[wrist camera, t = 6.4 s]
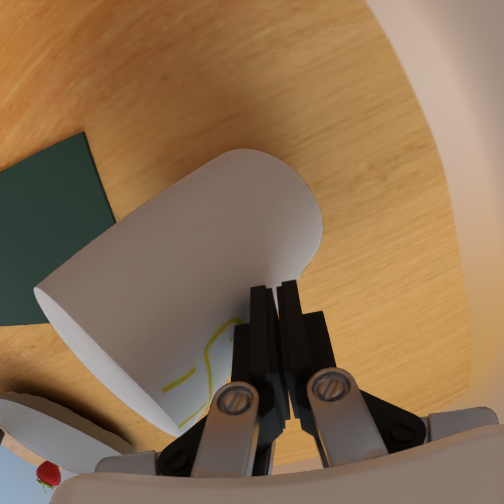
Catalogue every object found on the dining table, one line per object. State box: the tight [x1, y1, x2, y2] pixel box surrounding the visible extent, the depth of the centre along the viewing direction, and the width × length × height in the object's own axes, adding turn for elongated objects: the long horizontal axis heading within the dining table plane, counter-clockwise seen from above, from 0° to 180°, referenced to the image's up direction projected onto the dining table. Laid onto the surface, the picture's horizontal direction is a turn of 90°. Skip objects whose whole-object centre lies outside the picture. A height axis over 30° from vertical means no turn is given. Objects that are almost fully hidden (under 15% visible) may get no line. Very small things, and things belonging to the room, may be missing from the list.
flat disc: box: [0, 391, 136, 475], centre depth 38 cm, size 28×28×4 cm
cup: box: [34, 149, 323, 438], centre depth 15 cm, size 8×8×12 cm
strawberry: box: [36, 460, 61, 489], centre depth 48 cm, size 6×8×10 cm
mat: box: [0, 132, 116, 326], centre depth 23 cm, size 15×23×1 cm, turn 102°
